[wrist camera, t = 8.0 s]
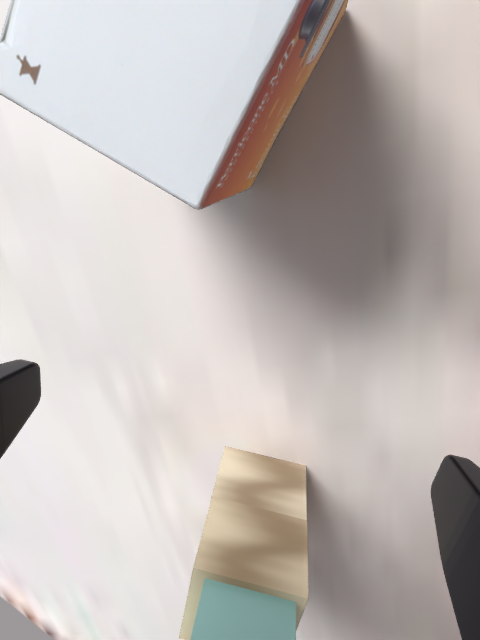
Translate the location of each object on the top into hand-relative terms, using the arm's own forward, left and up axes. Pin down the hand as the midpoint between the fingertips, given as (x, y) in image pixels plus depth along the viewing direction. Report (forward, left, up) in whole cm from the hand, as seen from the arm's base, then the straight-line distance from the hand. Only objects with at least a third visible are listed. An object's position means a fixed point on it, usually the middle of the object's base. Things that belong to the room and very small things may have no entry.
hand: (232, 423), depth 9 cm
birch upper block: (-2, +14, -9) cm, 16 cm away
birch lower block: (-2, +14, -13) cm, 19 cm away
